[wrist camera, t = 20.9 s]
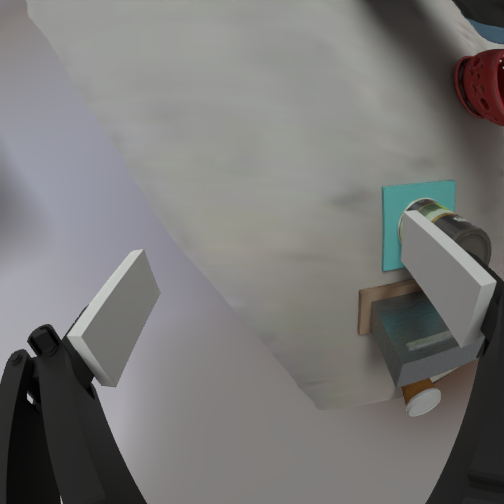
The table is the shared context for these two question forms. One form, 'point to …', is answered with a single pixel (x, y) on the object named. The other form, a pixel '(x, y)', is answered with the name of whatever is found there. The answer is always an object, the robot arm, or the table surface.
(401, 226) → the coffee can
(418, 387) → the disposable coffee cup
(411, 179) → the table surface
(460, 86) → the plant pot
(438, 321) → the mounted unit
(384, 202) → the pad
